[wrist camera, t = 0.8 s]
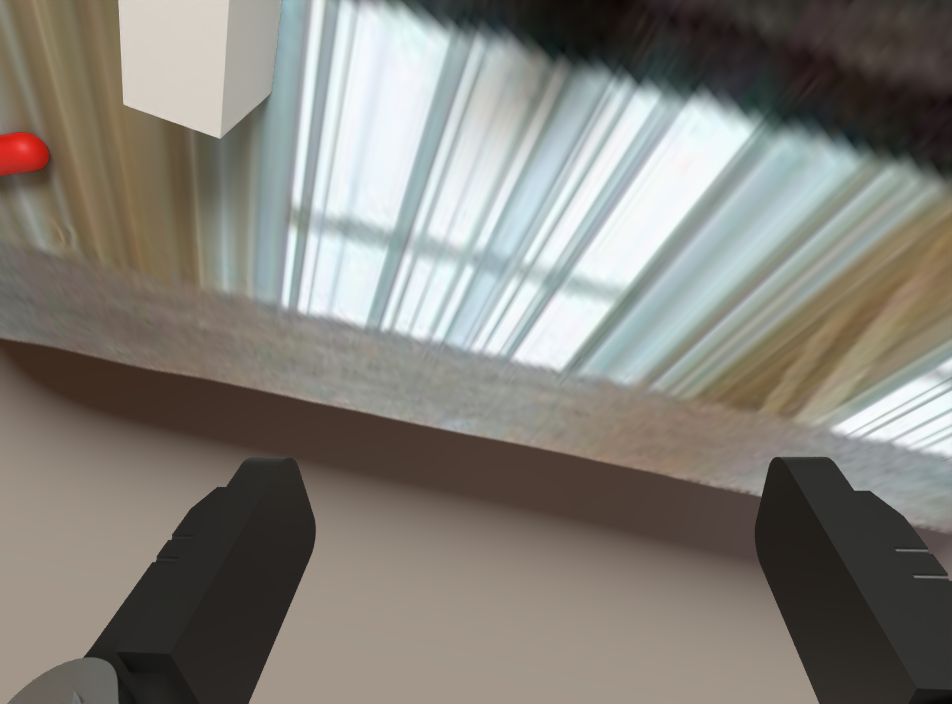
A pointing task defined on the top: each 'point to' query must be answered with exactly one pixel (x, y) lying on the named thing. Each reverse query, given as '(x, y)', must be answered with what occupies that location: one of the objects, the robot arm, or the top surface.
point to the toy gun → (22, 153)
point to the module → (198, 59)
